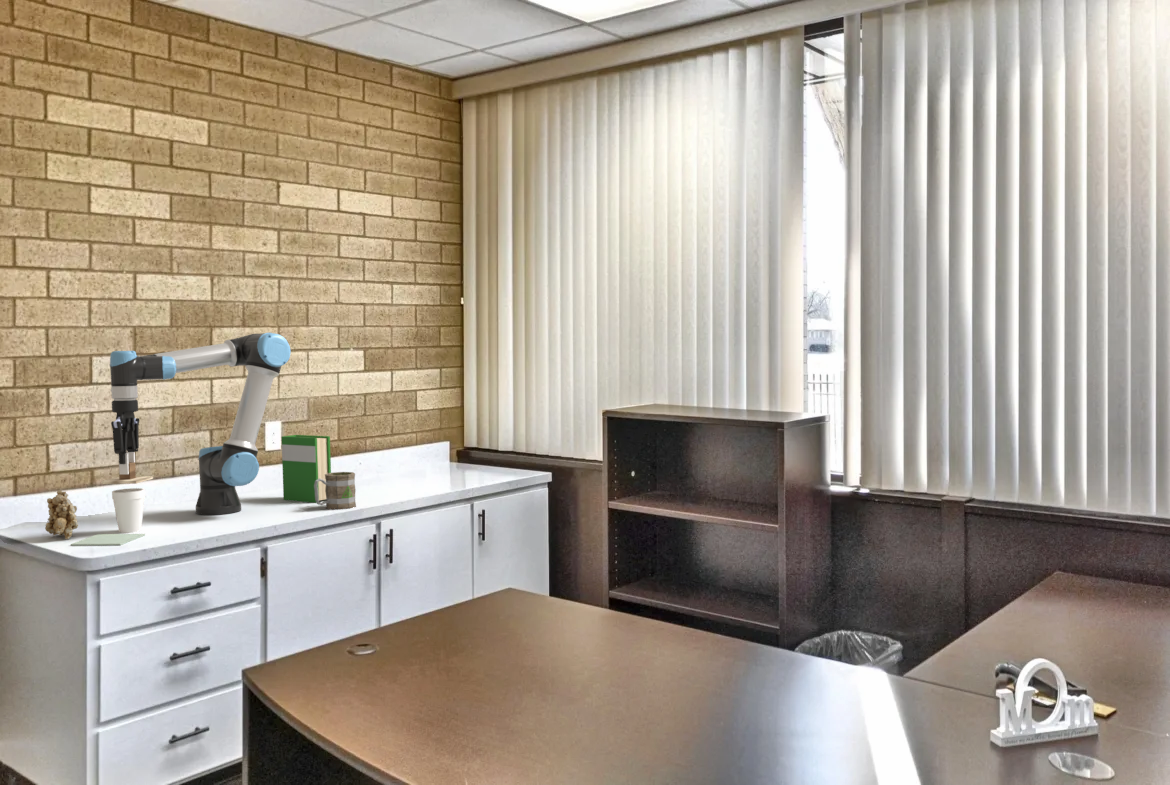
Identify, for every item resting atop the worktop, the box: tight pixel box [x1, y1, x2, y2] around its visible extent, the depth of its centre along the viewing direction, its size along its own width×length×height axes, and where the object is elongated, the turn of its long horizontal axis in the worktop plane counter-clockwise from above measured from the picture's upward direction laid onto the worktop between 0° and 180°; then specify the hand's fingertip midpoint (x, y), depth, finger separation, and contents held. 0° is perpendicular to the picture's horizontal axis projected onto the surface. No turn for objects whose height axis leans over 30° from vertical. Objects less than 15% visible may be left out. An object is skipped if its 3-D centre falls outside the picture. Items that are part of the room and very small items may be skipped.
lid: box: [100, 461, 154, 485], centre depth 312 cm, size 11×11×6 cm
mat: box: [70, 533, 146, 547], centre depth 298 cm, size 15×15×1 cm
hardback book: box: [281, 434, 332, 504], centre depth 370 cm, size 18×7×24 cm, turn 59°
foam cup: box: [111, 487, 146, 534], centre depth 313 cm, size 10×9×13 cm
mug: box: [314, 471, 357, 511], centre depth 350 cm, size 16×11×12 cm
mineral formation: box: [44, 489, 79, 540], centre depth 303 cm, size 8×13×15 cm, turn 50°
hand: (127, 473), depth 312 cm, fingers closed on lid, 3 cm apart
